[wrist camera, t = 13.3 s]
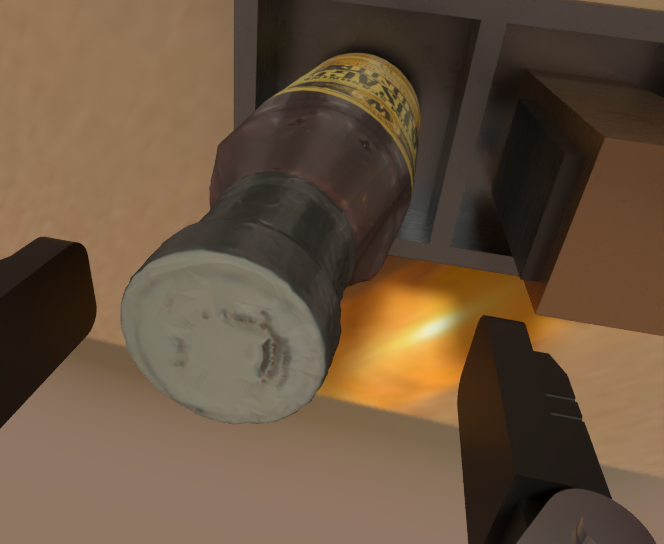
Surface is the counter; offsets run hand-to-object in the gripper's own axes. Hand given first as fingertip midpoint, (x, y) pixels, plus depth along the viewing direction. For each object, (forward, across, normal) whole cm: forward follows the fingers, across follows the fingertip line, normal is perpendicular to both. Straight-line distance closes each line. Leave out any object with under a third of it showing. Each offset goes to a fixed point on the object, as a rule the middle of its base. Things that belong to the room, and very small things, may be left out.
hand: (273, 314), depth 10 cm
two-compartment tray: (+19, -5, 0) cm, 20 cm away
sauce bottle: (+19, 0, 0) cm, 19 cm away
